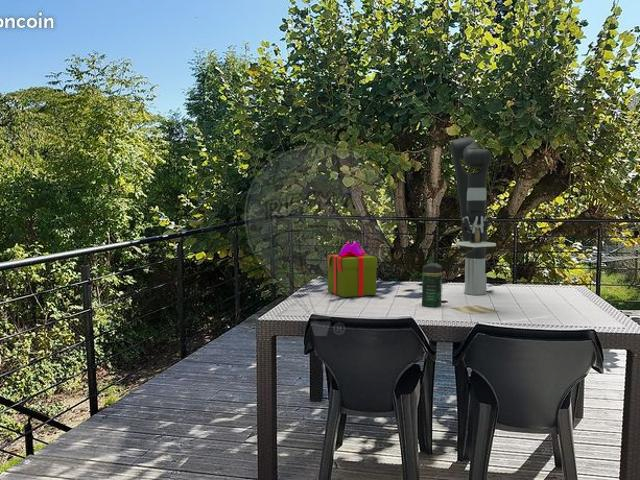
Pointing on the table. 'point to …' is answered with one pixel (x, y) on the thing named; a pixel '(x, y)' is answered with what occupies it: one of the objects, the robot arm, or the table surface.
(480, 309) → the mat
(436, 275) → the coffee jar
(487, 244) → the peg stand
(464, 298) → the table surface
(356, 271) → the gift box
